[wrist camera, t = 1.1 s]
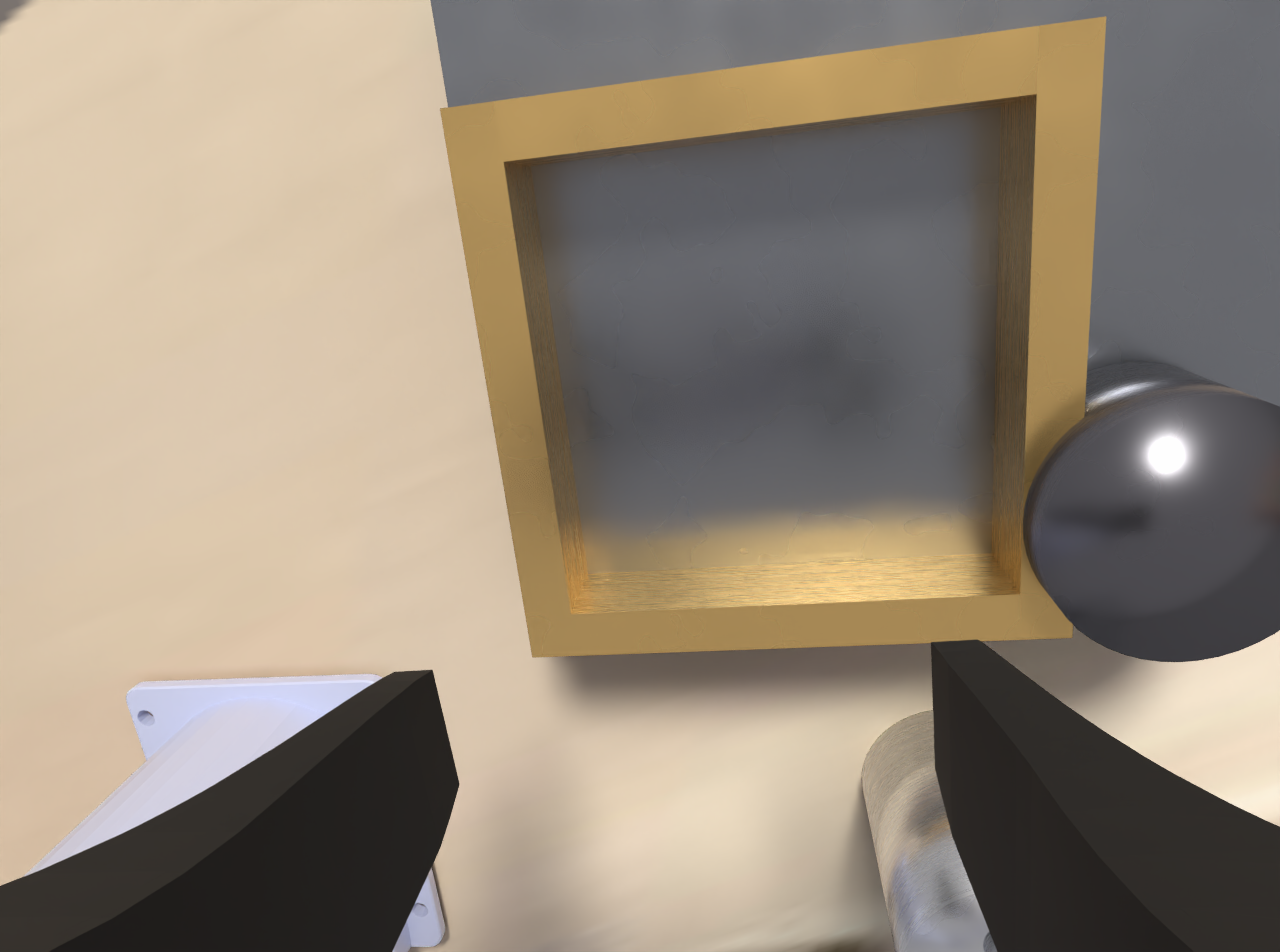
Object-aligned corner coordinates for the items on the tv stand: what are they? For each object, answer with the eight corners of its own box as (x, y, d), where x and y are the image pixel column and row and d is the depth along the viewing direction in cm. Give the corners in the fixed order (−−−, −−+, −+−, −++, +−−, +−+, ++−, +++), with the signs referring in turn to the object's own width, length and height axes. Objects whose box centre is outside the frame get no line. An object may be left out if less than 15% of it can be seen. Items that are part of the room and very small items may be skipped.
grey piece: (1210, 565, 20) (1358, 680, 15) (553, 596, 22) (501, 704, 17) (1285, -125, 15) (1524, -269, 11) (460, 4, 18) (358, -66, 13)
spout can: (1028, 845, 23) (1145, 1109, 16) (863, 845, 23) (911, 1100, 17) (1034, 706, 21) (1164, 933, 15) (859, 711, 22) (908, 929, 15)
